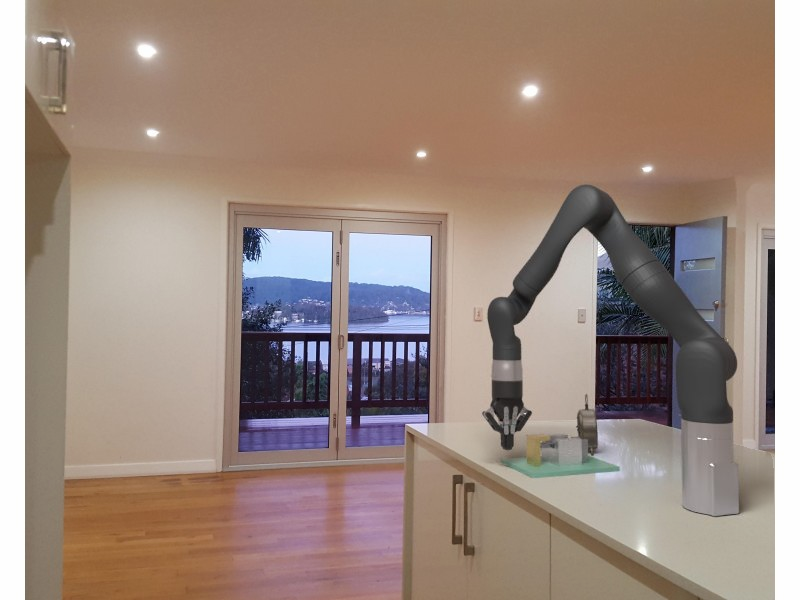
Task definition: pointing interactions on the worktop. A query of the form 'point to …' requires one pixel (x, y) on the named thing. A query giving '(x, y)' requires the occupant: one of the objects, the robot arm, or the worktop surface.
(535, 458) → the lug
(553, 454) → the heat sink
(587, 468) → the pcb board
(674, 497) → the worktop surface
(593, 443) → the alarm clock
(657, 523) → the worktop surface
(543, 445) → the strap
